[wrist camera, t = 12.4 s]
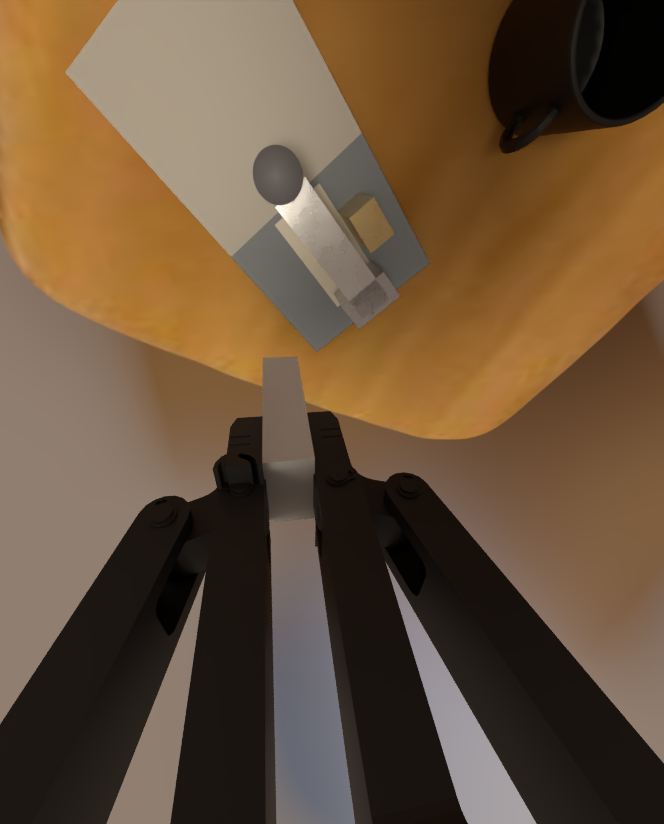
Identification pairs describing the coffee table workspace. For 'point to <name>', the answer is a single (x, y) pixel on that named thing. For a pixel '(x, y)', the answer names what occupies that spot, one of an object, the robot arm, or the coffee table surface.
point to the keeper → (366, 221)
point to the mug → (575, 66)
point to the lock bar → (338, 257)
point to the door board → (244, 137)
